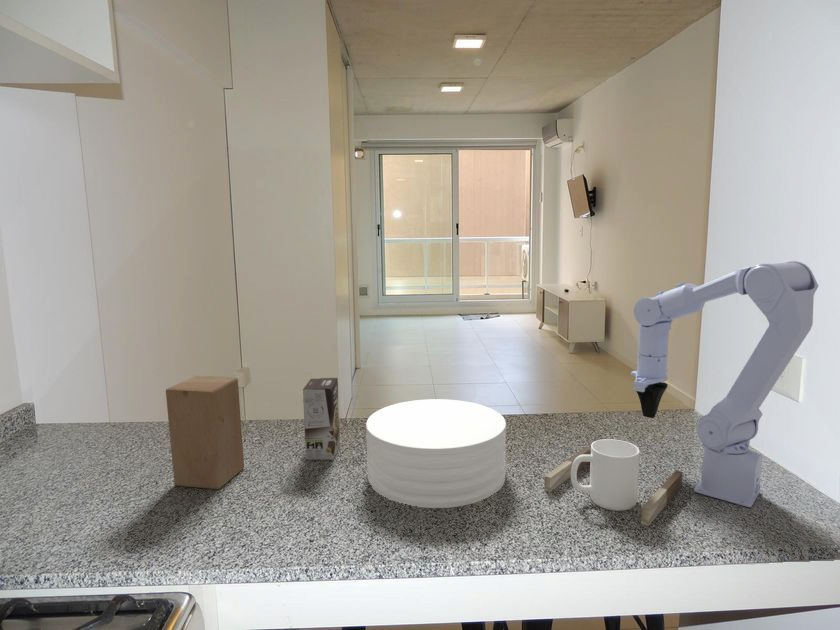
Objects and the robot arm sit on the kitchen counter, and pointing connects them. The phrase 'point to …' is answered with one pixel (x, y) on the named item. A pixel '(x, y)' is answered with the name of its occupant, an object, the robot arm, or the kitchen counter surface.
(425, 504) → the plate stack
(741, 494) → the robot arm
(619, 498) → the cup
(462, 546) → the kitchen counter surface
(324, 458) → the coffee box
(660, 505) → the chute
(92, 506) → the kitchen counter surface
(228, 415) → the wooden block
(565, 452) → the kitchen counter surface
